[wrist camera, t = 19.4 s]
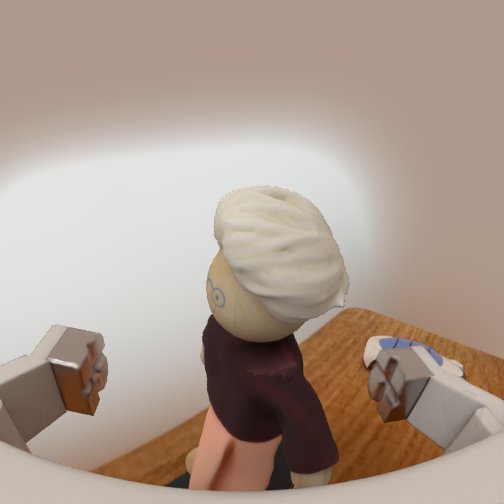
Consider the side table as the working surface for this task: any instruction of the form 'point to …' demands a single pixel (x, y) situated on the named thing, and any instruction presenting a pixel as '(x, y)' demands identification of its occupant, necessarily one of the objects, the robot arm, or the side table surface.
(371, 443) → the side table surface
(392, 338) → the toy car
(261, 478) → the grandmother figurine
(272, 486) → the black flat block
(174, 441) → the side table surface
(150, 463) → the side table surface
